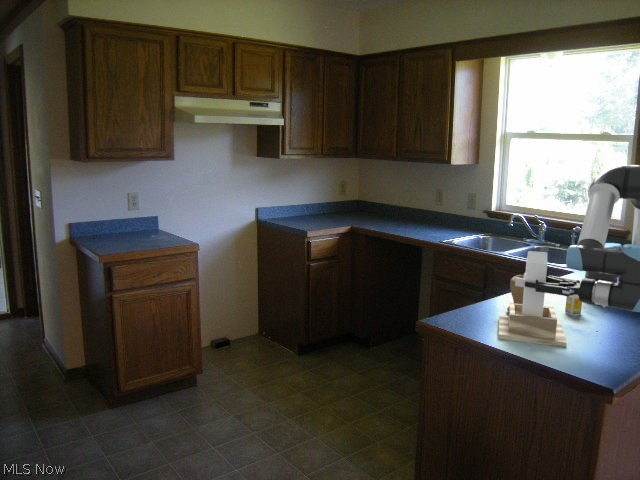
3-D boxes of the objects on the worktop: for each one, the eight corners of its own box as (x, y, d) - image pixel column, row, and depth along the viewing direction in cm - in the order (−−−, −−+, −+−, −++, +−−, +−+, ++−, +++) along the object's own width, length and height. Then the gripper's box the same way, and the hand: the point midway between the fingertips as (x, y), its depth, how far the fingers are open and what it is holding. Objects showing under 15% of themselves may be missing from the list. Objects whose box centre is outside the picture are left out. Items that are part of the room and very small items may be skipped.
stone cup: (502, 315, 197) (505, 275, 194) (511, 308, 207) (514, 269, 204) (545, 324, 189) (550, 282, 186) (553, 315, 198) (557, 276, 196)
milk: (521, 313, 182) (527, 249, 179) (541, 315, 181) (546, 250, 177) (522, 318, 177) (527, 252, 173) (542, 321, 175) (548, 254, 171)
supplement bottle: (563, 313, 201) (566, 288, 199) (566, 310, 205) (569, 285, 203) (579, 316, 197) (581, 291, 196) (582, 313, 202) (584, 288, 200)
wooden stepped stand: (498, 319, 192) (500, 299, 191) (560, 326, 186) (562, 305, 185) (498, 338, 174) (500, 316, 172) (566, 347, 168) (568, 324, 166)
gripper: (585, 311, 158) (508, 296, 172) (601, 296, 174) (528, 284, 188) (588, 286, 157) (510, 273, 171) (603, 274, 173) (530, 263, 187)
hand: (519, 279), depth 180 cm, fingers closed on milk, 7 cm apart
